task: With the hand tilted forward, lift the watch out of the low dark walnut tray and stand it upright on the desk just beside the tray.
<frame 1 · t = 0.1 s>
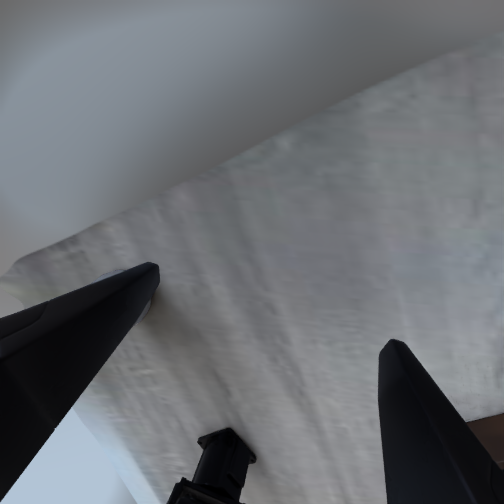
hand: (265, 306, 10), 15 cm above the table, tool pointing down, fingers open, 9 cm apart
tray: (503, 465, 27), on the table
watch: (502, 463, 28), resting in tray
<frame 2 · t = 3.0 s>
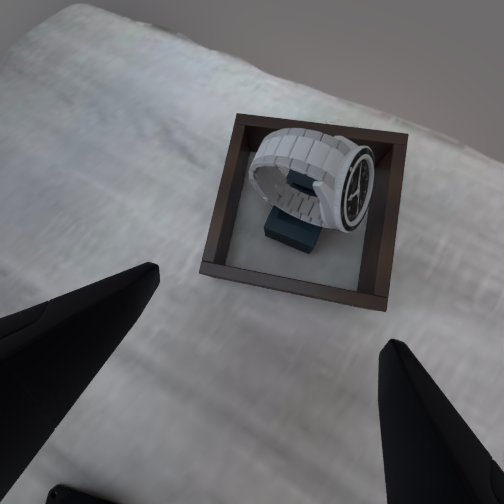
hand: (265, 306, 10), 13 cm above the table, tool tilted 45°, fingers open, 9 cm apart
tray: (299, 218, 24), on the table
watch: (299, 218, 24), resting in tray
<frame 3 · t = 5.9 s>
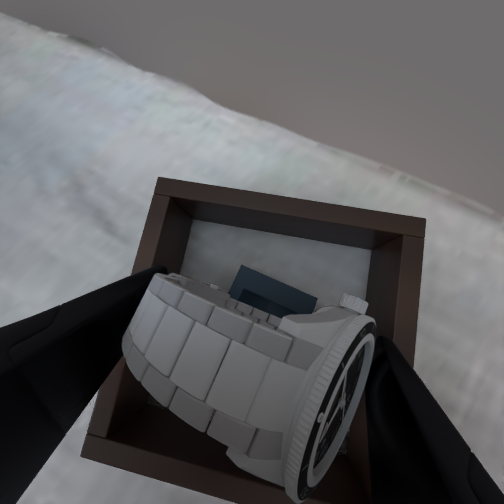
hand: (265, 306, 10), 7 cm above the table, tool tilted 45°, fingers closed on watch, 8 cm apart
tray: (261, 325, 16), on the table
watch: (261, 324, 16), resting in tray, touching gripper
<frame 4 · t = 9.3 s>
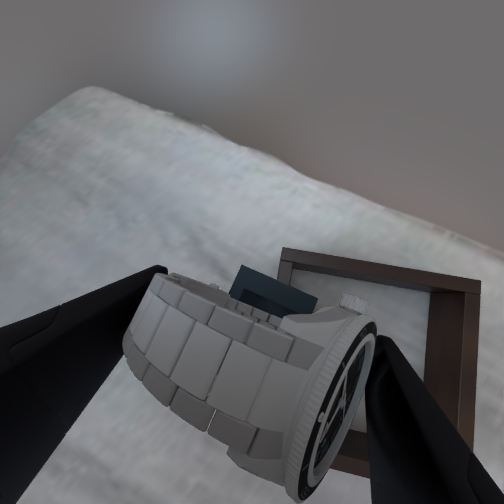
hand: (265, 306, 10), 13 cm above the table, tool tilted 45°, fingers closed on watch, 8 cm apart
tray: (349, 350, 21), on the table
watch: (262, 324, 16), point 6 cm above the table, touching gripper
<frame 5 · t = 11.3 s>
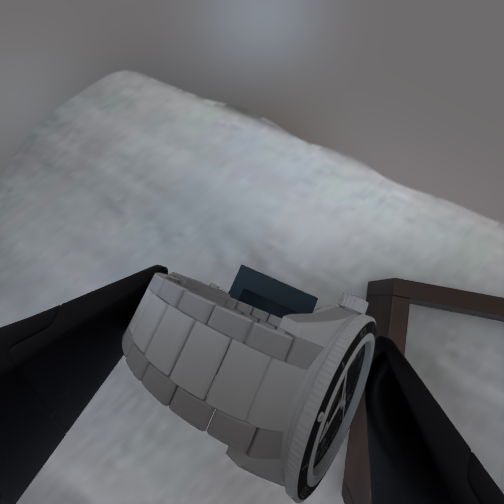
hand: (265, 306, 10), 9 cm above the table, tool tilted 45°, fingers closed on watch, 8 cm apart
tray: (464, 406, 17), on the table
watch: (262, 324, 16), point 3 cm above the table, touching gripper
when the fingers open (7 cm above the table, at t = 12.8 s): watch stays where it is, on the table.
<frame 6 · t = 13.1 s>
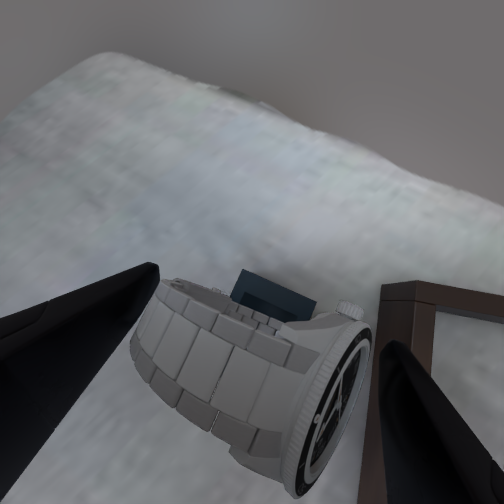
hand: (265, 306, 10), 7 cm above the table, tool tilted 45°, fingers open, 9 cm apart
tray: (496, 431, 14), on the table
watch: (262, 326, 16), on the table
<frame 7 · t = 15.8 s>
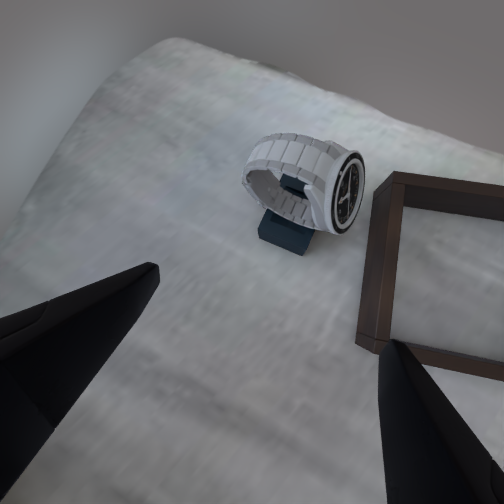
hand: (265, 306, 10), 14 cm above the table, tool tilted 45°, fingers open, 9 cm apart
tray: (447, 278, 22), on the table
watch: (292, 221, 24), on the table
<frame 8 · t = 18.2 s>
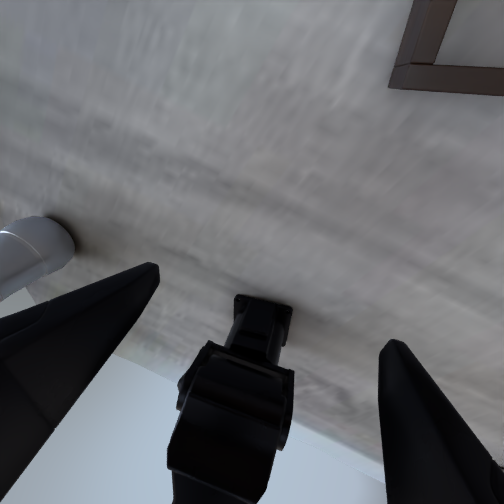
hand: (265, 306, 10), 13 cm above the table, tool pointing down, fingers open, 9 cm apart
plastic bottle: (60, 234, 31), on the table
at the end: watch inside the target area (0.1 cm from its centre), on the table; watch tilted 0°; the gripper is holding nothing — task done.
